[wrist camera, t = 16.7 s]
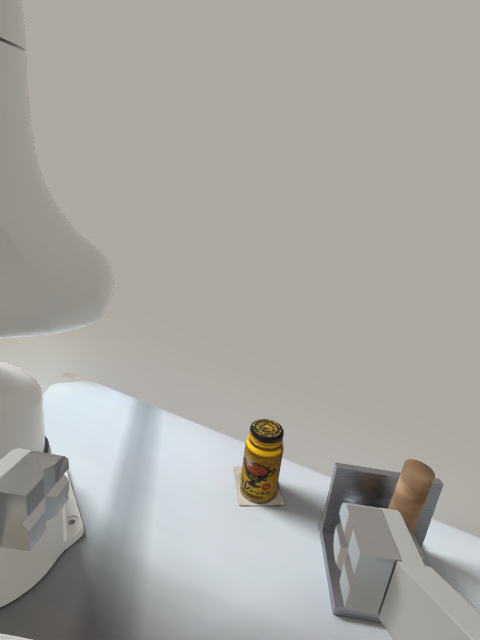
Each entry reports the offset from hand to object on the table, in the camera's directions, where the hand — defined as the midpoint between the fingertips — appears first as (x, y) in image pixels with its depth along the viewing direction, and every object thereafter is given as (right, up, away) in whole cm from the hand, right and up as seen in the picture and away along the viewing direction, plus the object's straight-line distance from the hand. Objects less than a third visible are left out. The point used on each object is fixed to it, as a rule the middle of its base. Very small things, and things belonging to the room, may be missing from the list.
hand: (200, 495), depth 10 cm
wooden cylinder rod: (+19, -27, +33) cm, 47 cm away
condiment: (+4, -23, +46) cm, 52 cm away
